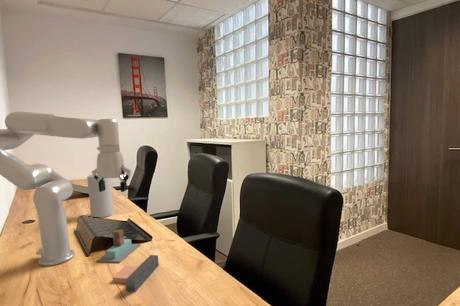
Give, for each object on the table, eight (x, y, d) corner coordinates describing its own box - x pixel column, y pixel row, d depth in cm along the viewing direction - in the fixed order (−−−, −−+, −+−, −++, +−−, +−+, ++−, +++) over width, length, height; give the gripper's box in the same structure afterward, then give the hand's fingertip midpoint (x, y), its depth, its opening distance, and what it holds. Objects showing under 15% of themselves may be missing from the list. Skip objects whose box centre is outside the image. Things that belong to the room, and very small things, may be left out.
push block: (106, 258, 114) (104, 236, 113) (123, 245, 125) (121, 225, 124) (115, 258, 113) (113, 236, 112) (131, 245, 125) (129, 225, 124)
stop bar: (126, 291, 91) (125, 279, 90) (151, 265, 107) (150, 255, 107) (135, 292, 90) (134, 280, 90) (158, 265, 107) (157, 255, 106)
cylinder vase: (86, 218, 170) (82, 177, 167) (100, 211, 182) (96, 173, 179) (104, 218, 167) (100, 176, 164) (117, 212, 179) (114, 173, 176)
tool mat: (96, 261, 112) (96, 260, 112) (119, 244, 128) (119, 243, 128) (119, 262, 110) (119, 261, 110) (140, 245, 126) (140, 244, 126)
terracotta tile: (113, 283, 97) (112, 277, 97) (125, 271, 105) (125, 265, 105) (134, 284, 95) (134, 278, 95) (145, 272, 103) (145, 267, 103)
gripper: (84, 150, 113) (88, 193, 114) (123, 149, 109) (127, 193, 111) (96, 149, 120) (100, 188, 122) (134, 148, 117) (137, 189, 118)
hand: (113, 191), depth 116 cm, fingers open, 9 cm apart
